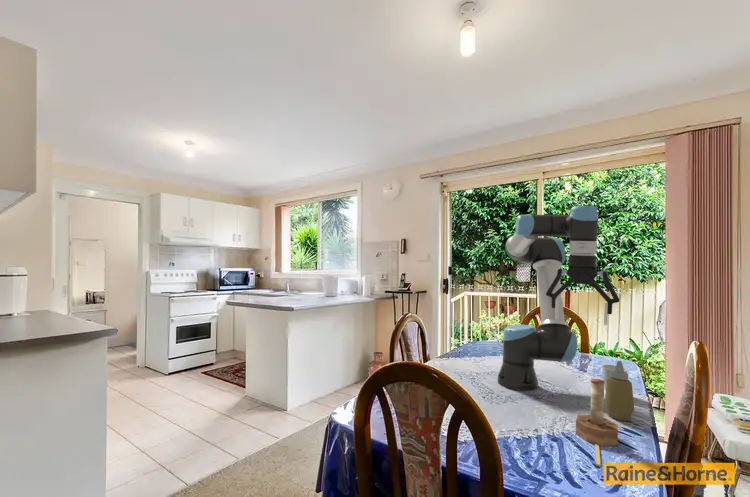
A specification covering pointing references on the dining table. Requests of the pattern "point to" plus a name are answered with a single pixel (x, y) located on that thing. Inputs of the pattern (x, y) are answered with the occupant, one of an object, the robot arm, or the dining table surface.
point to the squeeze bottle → (619, 394)
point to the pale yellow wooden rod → (597, 455)
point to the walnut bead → (597, 431)
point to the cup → (608, 373)
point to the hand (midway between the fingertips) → (580, 321)
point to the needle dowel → (597, 402)
